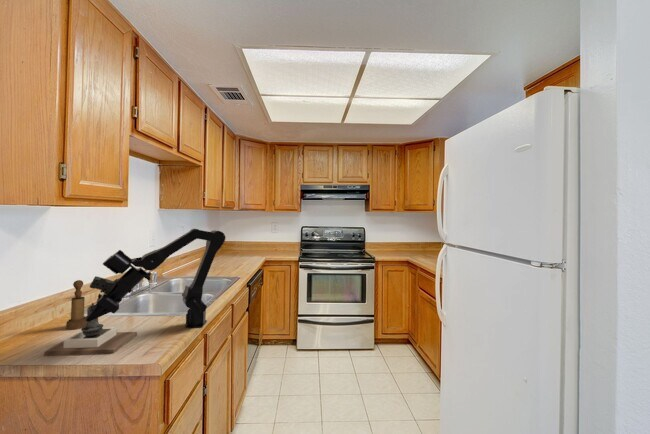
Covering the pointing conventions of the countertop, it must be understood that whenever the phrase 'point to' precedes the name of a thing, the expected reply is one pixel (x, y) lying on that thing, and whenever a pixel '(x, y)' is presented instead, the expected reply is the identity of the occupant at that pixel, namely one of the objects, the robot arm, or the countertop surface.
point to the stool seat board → (92, 343)
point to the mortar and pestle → (77, 308)
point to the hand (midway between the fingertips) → (87, 319)
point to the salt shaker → (92, 325)
